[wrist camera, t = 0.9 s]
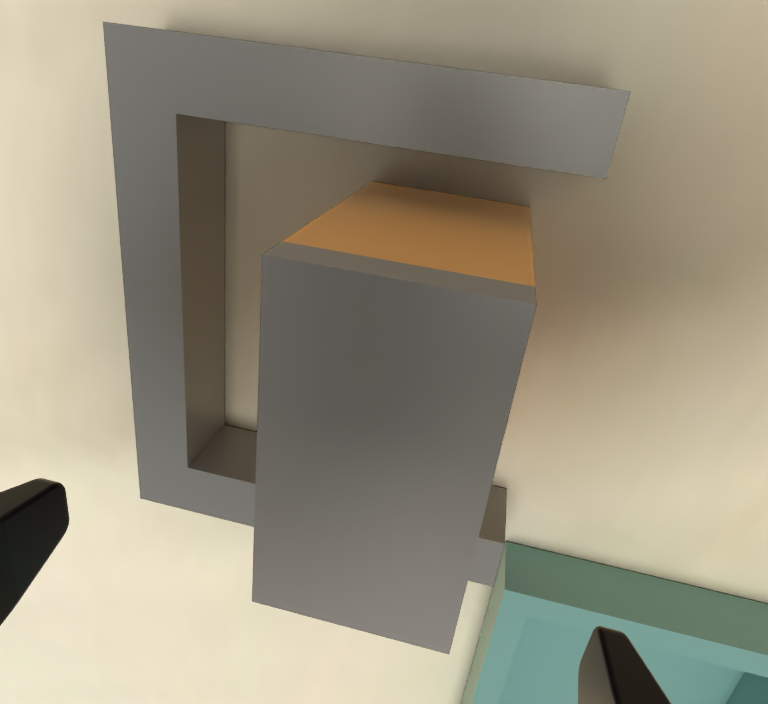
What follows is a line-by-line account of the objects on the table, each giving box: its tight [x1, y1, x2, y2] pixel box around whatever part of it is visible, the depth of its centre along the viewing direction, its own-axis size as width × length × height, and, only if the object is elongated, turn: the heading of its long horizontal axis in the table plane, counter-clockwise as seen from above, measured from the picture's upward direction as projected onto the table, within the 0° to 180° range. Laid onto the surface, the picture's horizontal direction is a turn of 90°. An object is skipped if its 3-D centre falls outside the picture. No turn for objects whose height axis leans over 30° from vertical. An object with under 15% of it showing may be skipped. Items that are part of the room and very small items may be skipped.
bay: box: [103, 22, 630, 587], centre depth 19 cm, size 14×16×3 cm
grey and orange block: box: [252, 182, 537, 654], centre depth 16 cm, size 5×9×9 cm, turn 173°
